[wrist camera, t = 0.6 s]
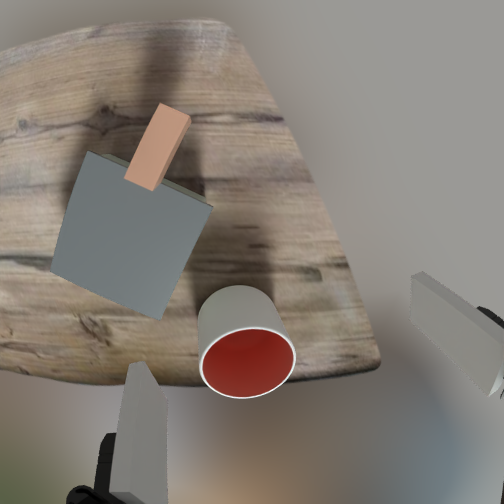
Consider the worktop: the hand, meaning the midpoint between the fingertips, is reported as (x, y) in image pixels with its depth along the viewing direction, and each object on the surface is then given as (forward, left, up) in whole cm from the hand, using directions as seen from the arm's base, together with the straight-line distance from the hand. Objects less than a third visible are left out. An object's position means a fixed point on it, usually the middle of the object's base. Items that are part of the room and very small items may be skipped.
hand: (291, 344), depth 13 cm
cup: (+6, -11, -23) cm, 26 cm away
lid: (-10, -2, -18) cm, 20 cm away
